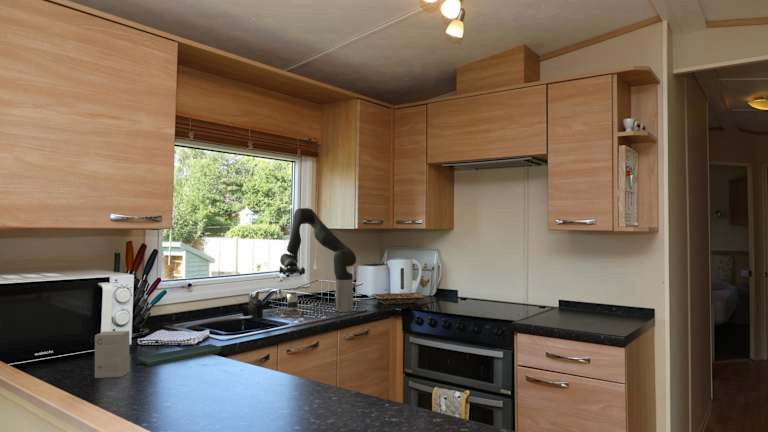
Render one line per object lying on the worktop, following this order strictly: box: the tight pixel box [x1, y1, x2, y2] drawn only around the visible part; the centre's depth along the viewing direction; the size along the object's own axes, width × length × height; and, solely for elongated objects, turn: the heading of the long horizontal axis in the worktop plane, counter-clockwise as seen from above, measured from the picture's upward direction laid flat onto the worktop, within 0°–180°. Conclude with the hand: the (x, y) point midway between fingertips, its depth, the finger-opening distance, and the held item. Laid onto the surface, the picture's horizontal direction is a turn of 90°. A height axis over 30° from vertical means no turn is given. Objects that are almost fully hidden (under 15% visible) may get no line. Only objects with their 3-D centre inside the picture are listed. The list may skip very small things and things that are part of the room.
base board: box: [280, 311, 302, 319], centre depth 270 cm, size 10×10×1 cm
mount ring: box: [281, 309, 301, 316], centre depth 270 cm, size 9×9×2 cm
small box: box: [94, 330, 131, 379], centre depth 161 cm, size 8×6×13 cm
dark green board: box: [138, 343, 222, 367], centre depth 183 cm, size 26×9×2 cm, turn 135°
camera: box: [241, 296, 264, 321], centre depth 265 cm, size 18×9×10 cm, turn 24°
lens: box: [286, 292, 299, 310], centre depth 281 cm, size 6×6×10 cm
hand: (292, 273), depth 289 cm, fingers open, 8 cm apart
